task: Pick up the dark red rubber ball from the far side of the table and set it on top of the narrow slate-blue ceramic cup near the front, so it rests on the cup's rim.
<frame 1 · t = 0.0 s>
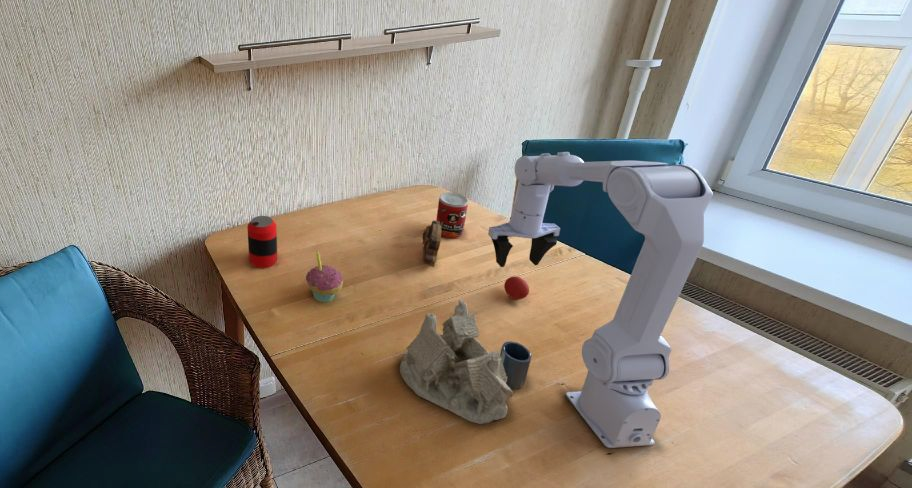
hand: (516, 263, 94), 10 cm above the table, tool pointing down, fingers open, 7 cm apart
soda can: (263, 260, 114), on the table
ceramic cottage: (450, 385, 78), on the table
wooden carving: (428, 258, 113), on the table
cup: (510, 377, 79), on the table
canned food: (448, 232, 125), on the table
ball: (516, 287, 98), point 2 cm above the table
cupcake: (324, 295, 101), on the table
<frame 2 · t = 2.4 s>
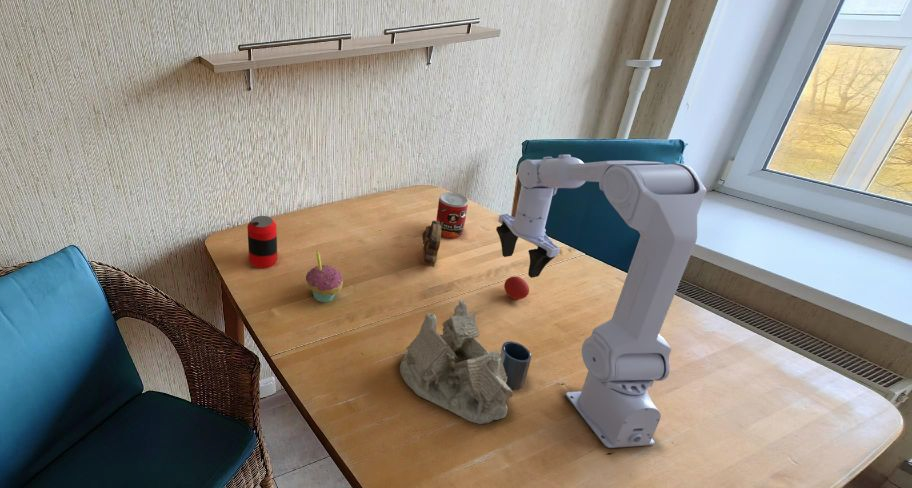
hand: (519, 265, 95), 9 cm above the table, tool pointing down, fingers open, 7 cm apart
nothing on the table moved.
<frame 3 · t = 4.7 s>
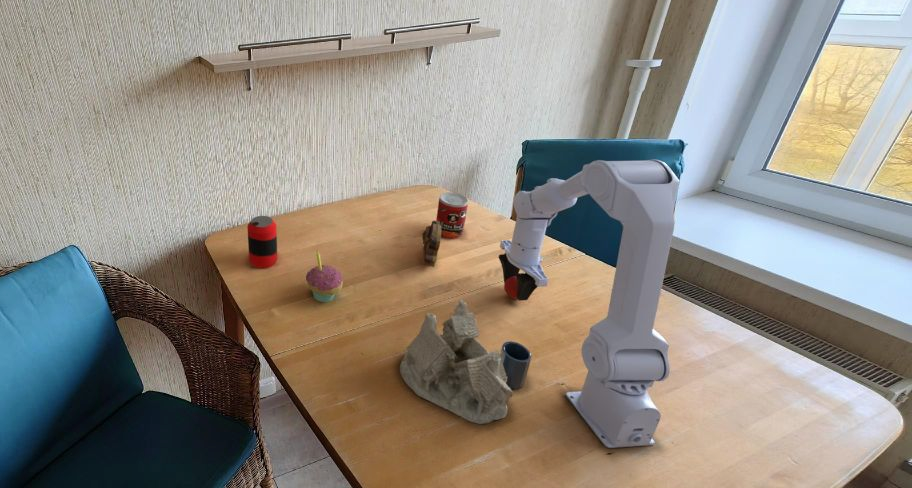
hand: (515, 291, 98), 1 cm above the table, tool pointing down, fingers closed on ball, 5 cm apart
ball: (516, 287, 98), point 2 cm above the table, touching gripper
everything else where it was.
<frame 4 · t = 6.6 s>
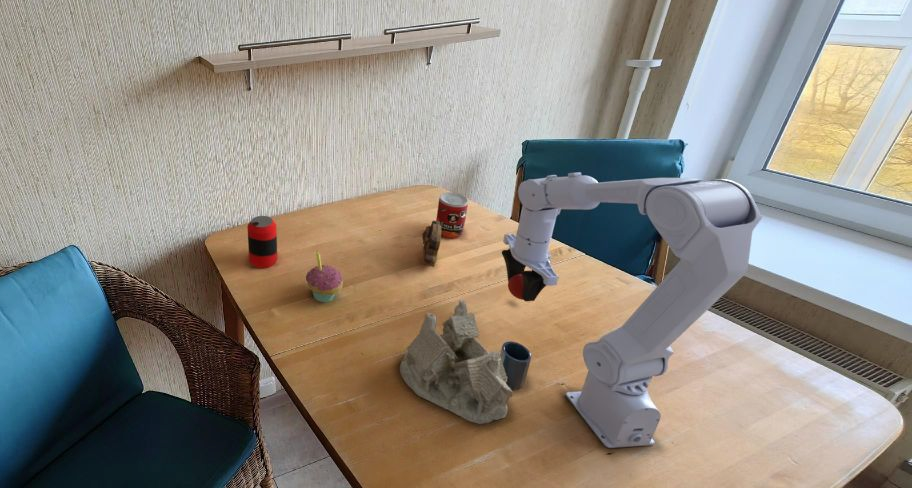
hand: (520, 291, 88), 9 cm above the table, tool pointing down, fingers closed on ball, 5 cm apart
ball: (521, 286, 88), point 10 cm above the table, touching gripper
everything else where it was.
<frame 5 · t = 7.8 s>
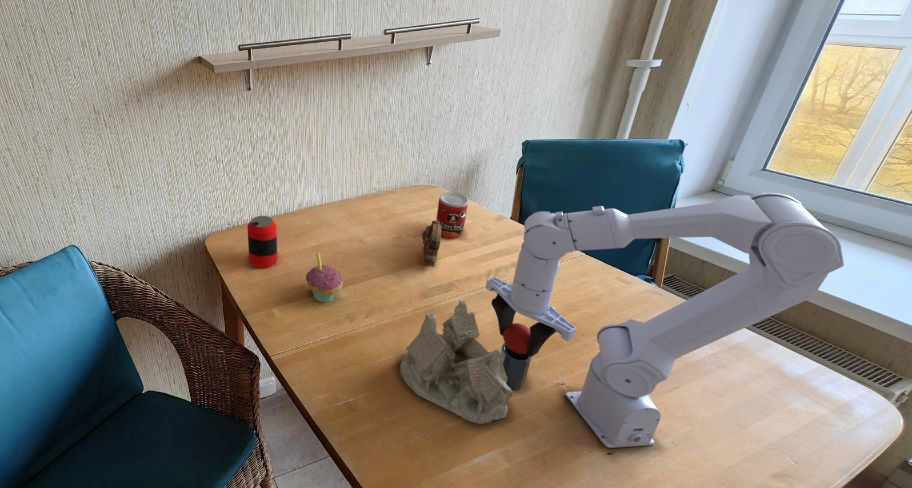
hand: (518, 343, 76), 8 cm above the table, tool pointing down, fingers closed on ball, 5 cm apart
ball: (519, 338, 75), point 10 cm above the table, touching gripper
everything else where it was.
when the fingers open (7 cm above the table, at t = 8.7 s): ball stays where it is, resting on cup.
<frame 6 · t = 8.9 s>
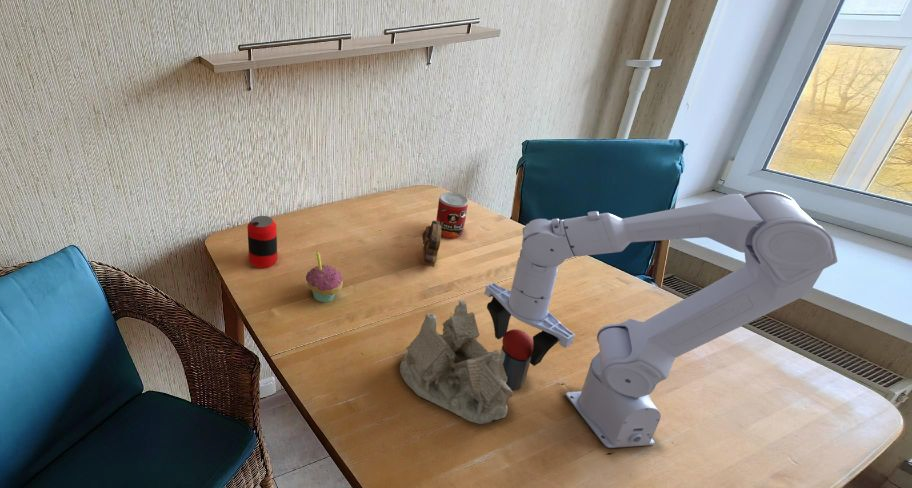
hand: (517, 348, 76), 7 cm above the table, tool pointing down, fingers open, 6 cm apart
cup: (510, 377, 79), on the table, touching ball
ball: (518, 344, 76), point 8 cm above the table, touching cup
everything else where it was.
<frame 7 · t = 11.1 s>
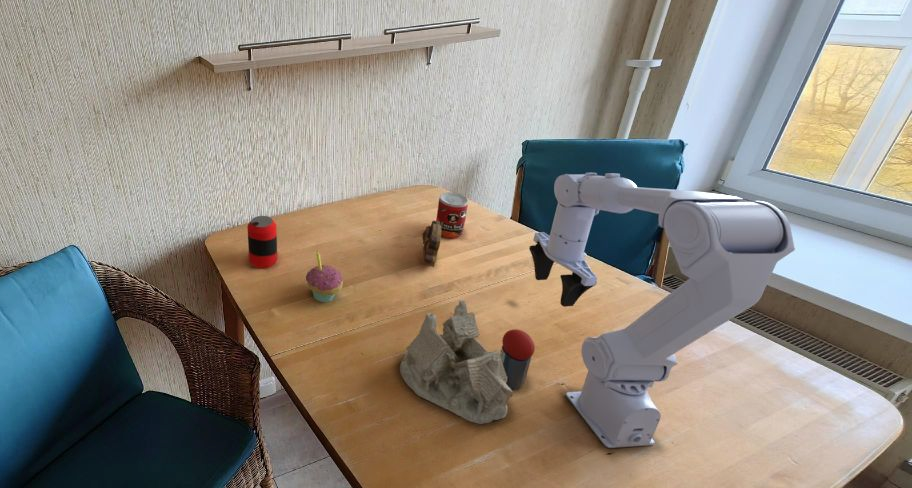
hand: (553, 291, 85), 10 cm above the table, tool pointing down, fingers open, 7 cm apart
nothing on the table moved.
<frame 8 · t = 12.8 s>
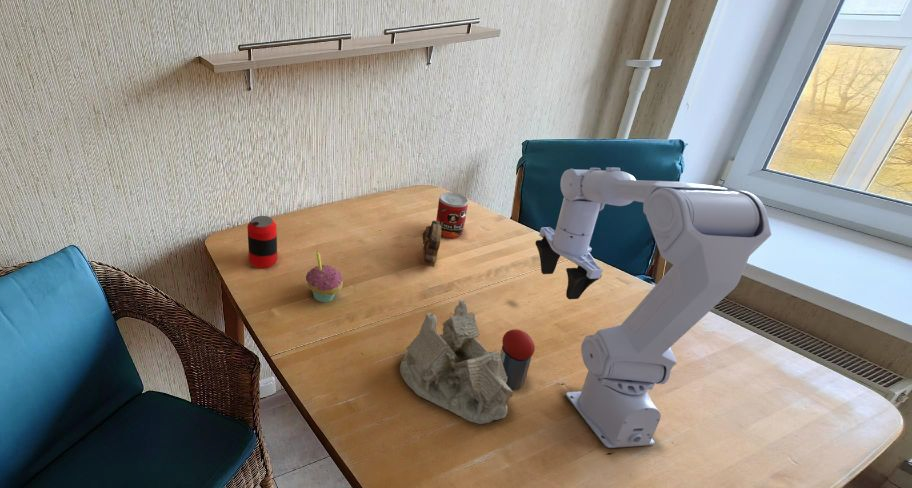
hand: (559, 285, 87), 10 cm above the table, tool pointing down, fingers open, 7 cm apart
nothing on the table moved.
at the end: ball 0.0 cm off-centre on the cup, point 8.1 cm above the cup's base; the gripper is holding nothing; cup tilted 0° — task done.
